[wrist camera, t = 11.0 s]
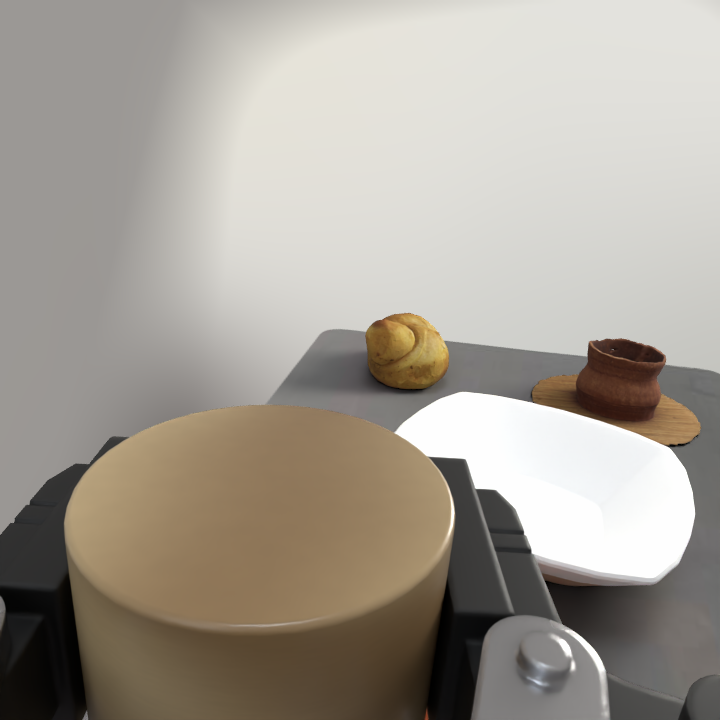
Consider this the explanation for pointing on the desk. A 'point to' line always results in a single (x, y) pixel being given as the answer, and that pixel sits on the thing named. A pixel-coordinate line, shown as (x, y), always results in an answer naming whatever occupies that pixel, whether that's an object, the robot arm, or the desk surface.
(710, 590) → the desk surface
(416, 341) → the bread roll
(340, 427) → the tan cylinder
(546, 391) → the ceramic pot
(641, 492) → the bowl
